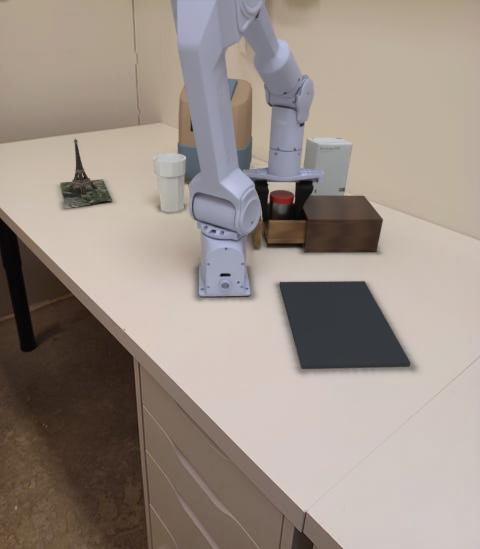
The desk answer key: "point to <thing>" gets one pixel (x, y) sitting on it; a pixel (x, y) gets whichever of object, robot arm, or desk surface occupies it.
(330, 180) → the cosmetic box
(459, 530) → the desk surface
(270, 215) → the tin
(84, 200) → the eiffel tower figurine
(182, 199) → the cup
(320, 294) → the mat
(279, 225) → the drawer
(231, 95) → the tan and blue canister
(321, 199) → the cabinet
